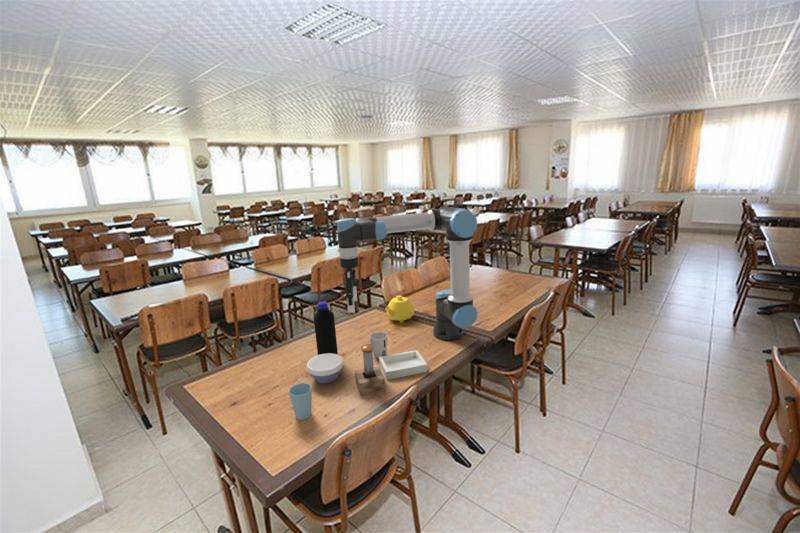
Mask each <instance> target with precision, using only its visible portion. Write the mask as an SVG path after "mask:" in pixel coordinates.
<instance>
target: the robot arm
mask: <svg viewBox="0 0 800 533" xmlns="http://www.w3.org/2000/svg"><path fill="white" fill-rule="evenodd" d="M336 223H337V224H336V226H337V229H336V230H337V231H336V233H337V241H338V242H337V243H338V249H337V252H339V257H340V258H339V265H340V267H341V269H346V270H345V272H344V276H345V295H344V298H345V299H346V303H347V304H346V305H347V313H349V314H350V313H356V309H355V302H358V295H357V294H358V293H357V292H358V291H357V286H359V284H358V282H357V278H356V269H355V268H358V266H359V265H360V261H359V257H358V256H359V247H358V242H365V241H366V242H367V241H368V242H369V241H380V240H384V239H385V238H386V237H387V234H390V233H391V234H392V233H401V232H409V231H410V232H411V231H420V230H422V231H423V230H429V231H431V232H432V231H433V232H434V231H441V232H445V240H446V241H447V243H449V270H450V274H449V276H450V277H449V278H450V288H449V289H442V290H438V291H437V292H436V293H435V315H436V316H435V317H436V318H435V319H436V320H435V323H434V326H433V329H432V332H433V334H432V335H433V336H434V337H435V338H436V339H439V340H442V341H454V340H458V339H461V338H462V337H463V336H464V329H467V328H470V327H472V325H473V324H474V323H476V321H477V319H478V316H479V315H478V310H477V308H476V307H475V306H474V297H473V295H472V294H471V292H470V291H471V290H470V288H471V287H470V285H471V283H470V281H471V280H470V243H471V241H472V240H473V238H474V236H473V235H474V234H475V232H476V231H477V229H478V221H477V217H476V215H475V214H474V213H473V212H472V211H470V210H468V209H466V208H463V207H462V208H461V207H454V206H447V207H441V208H434V209H428V210H427V212H418V213H417V212H415V213H407V214H398V215H386V216H384V215H383V216H375V217H359V218H357V219H355V218H353V217H350V218H348V217H347V218H346V217H345V218H340V219H338V220H337V222H336Z"/></svg>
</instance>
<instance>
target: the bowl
mask: <svg viewBox="0 0 800 533" xmlns="http://www.w3.org/2000/svg"><path fill="white" fill-rule="evenodd" d="M306 363H307V364H306V367H307V372H308V373H309V374H310V376H311V377H312V378H313V379H314V380H315V381H316V382H317V383H319V384H329V383H333V382H334V381H336V380H337V378H338V377H339V375H340V373H341V372H342V369H343V367H344V360H343V357H342V356H341V355H339V354H338V355H337V354H332V353H327V354H321V355H318V354H317V355H315V356H313V357H311V358H310V359H309V360H308V361H307V362H306Z"/></svg>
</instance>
